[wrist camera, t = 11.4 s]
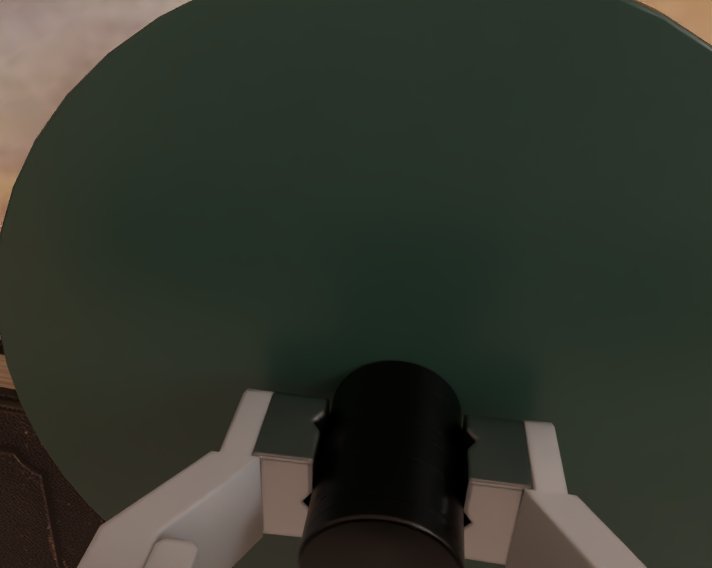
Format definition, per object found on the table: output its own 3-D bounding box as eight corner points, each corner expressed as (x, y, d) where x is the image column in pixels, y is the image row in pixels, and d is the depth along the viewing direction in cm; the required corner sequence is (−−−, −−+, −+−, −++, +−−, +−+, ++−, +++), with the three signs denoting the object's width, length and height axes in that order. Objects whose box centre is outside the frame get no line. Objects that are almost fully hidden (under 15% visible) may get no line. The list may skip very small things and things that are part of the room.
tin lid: (1022, -23, 9) (1497, 53, 5) (680, 643, 17) (752, 880, 13) (-67, -85, 10) (-405, -66, 6) (95, 562, 18) (-6, 755, 14)
